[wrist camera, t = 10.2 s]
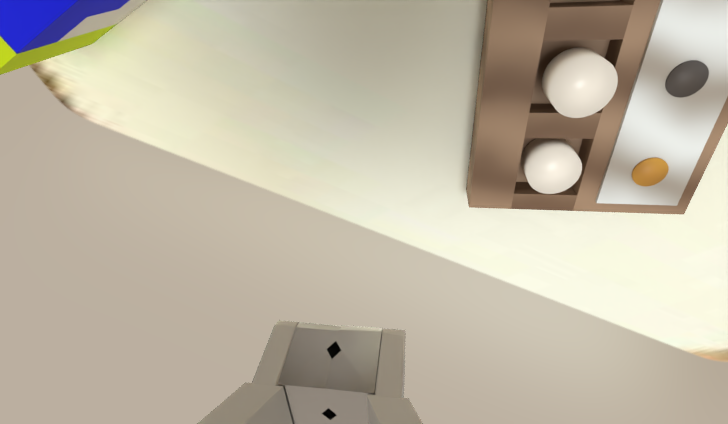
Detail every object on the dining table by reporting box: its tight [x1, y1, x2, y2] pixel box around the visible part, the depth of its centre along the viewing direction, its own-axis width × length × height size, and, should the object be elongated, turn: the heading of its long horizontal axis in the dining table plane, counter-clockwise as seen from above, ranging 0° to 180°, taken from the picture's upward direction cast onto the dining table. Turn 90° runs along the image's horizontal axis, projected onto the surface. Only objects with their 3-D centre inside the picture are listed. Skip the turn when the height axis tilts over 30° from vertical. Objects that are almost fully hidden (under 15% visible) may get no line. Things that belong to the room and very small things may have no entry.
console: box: [466, 0, 728, 214], centre depth 29 cm, size 22×17×4 cm
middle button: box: [542, 47, 618, 118], centre depth 27 cm, size 4×4×2 cm
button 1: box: [521, 138, 582, 194], centre depth 33 cm, size 4×4×2 cm
